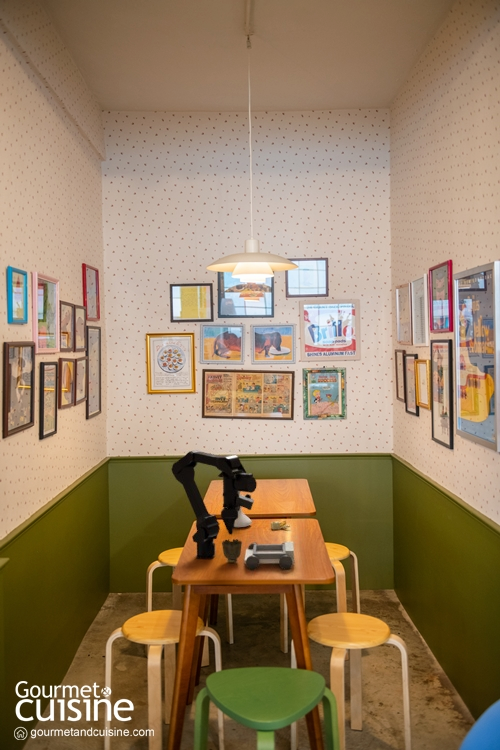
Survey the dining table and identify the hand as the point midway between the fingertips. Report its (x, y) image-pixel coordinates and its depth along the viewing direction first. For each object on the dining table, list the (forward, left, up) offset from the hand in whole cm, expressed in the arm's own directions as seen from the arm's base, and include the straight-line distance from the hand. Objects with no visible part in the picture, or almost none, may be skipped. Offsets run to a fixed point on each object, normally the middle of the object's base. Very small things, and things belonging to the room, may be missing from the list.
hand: (231, 530), depth 248 cm
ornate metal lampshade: (0, 0, -12) cm, 12 cm away
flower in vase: (0, +54, -12) cm, 55 cm away
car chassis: (+14, 0, -12) cm, 18 cm away
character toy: (+19, +48, -13) cm, 53 cm away
